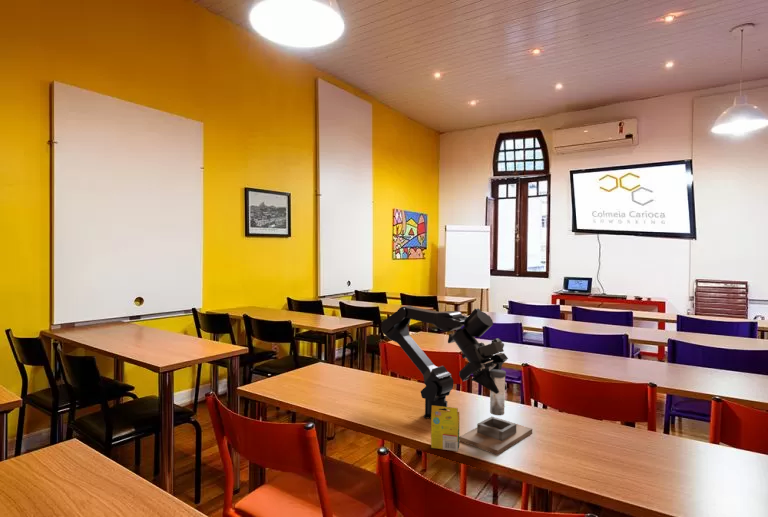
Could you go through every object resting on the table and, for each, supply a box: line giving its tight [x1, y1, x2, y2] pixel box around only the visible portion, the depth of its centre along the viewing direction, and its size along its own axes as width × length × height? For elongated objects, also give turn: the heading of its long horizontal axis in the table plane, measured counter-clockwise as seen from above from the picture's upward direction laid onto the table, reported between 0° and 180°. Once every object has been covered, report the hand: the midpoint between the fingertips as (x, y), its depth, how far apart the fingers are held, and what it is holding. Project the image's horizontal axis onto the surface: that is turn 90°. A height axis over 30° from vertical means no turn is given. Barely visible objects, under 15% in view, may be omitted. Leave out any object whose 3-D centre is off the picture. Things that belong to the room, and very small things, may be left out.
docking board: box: [459, 416, 533, 456], centre depth 127 cm, size 12×20×4 cm, turn 136°
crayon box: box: [430, 405, 460, 453], centre depth 120 cm, size 7×3×12 cm, turn 72°
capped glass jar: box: [489, 369, 507, 416], centre depth 127 cm, size 4×4×12 cm
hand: (501, 391), depth 126 cm, fingers closed on capped glass jar, 4 cm apart
